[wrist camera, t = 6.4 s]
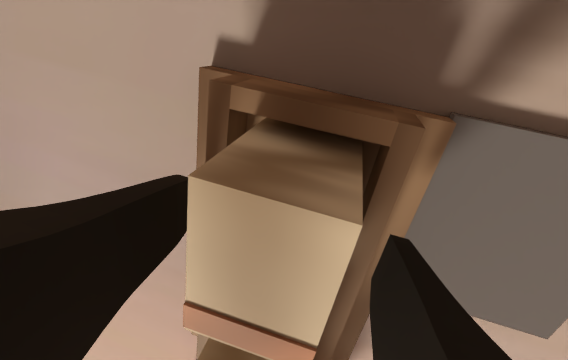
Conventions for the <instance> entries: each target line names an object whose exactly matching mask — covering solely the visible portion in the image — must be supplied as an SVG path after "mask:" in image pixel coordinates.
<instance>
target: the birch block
mask: <svg viewBox="0 0 568 360" xmlns="http://www.w3.org/2000/svg"><path fill="white" fill-rule="evenodd" d="M362 226H363V169H362V141H360V140H356V139H352V138H347V137H343V136H339V135H335V134H331V133H327V132H323V131H319V130H315V129H311V128H307V127H303V126H299V125H294V124H290V123H286V122H282V121H278V120H274V119H270V118H265V119H263V120H262V121H261V122H259V123H258V124H257V125H255V126H254V127H253V128H251V129H250V130H249V131H247V132H246V133H245V134H243V135H242V136H241V137H239V138H238V139H237V140H235V141H234V142H233V143H231V144H230V145H229V146H227V147H226V148H225V149H223V150H222V151H221V152H219V153H218V154H217V155H215V156H214V157H213V158H211V159H210V160H209V161H207V162H206V163H205V164H203V165H202V166H201V167H199V168H198V169H197V170H195V171H194V172H192V173H191V174H190V175H188V207H187V250H186V293H185V303H184V305H183V327H185V329H186V330H189V331H192V332H195V333H197V334H200V335H203V336H205V337H208V338H211V339H214V340H216V341H219V342H222V343H224V344H227V345H230V346H233V347H235V348H238V349H241V350H243V351H246V352H249V353H252V354H254V355H257V356H260V357H262V358H265V359H268V360H313V359H314V356H315V354H316V349H317V346H318V344H319V341H320V338H321V336H322V333H323V330H324V328H325V325H326V322H327V320H328V317H329V314H330V312H331V309H332V306H333V304H334V301H335V298H336V296H337V293H338V290H339V288H340V285H341V282H342V280H343V277H344V274H345V272H346V269H347V266H348V264H349V261H350V258H351V256H352V253H353V250H354V248H355V245H356V242H357V240H358V237H359V234H360V232H361V229H362Z"/></svg>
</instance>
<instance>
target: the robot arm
mask: <svg viewBox="0 0 568 360" xmlns="http://www.w3.org/2000/svg"><path fill="white" fill-rule="evenodd" d="M187 207H188V177H185V176H181V175H172V176H167V177H163V178H159V179H156V180H152V181H148V182H145V183H141V184H137V185H134V186H130V187H126V188H123V189H119V190H115V191H111V192H107V193H103V194H98V195H94V196H90V197H86V198H81V199H77V200H71V201H66V202H61V203H55V204H49V205H43V206H36V207H28V208H20V209H12V210H3V211H0V360H82V359H83V358H84V356H85V355H86V354H87V352H88V351H89V350H90V348H91V347H92V345H93V344H94V343H95V341H96V340H97V338H98V337H99V336H100V334H101V333H102V331H103V330H104V329H105V327H106V326H107V325H108V324H109V322H110V321H111V320H112V318H113V317H114V316H115V314H116V313H117V312H118V310H119V309H120V308H121V306H122V305H123V304H124V303H125V301H126V300H127V299H128V298H129V297H130V296H131V294H132V293H133V292H134V291H135V290H136V289H137V288H138V287H139V286H140V285H141V283H142V282H143V281H144V280H145V279H146V278H147V277H148V276H149V275H150V274H151V273H152V272H153V271H154V269H155V268H156V267H157V266H158V265H159V264H160V263H161V262H162V261H163V260H164V259H165V258H166V256H167V255H168V254H169V253H170V252H171V251H172V250H173V249H174V248H175V247H176V245H177V244H178V243H179V241H180V240H181V239H182V237H183V236H184V234H185V233H186V231H187ZM370 320H371V335H372V348H373V360H512V359H511V358H510V357H509V356H508V355H507V354H506V353H505V352H504V351H503V350H502V349H501V348H500V347H499V346H498V345H497V344H496V343H495V342H494V341H493V340H492V339H491V338H490V337H489V336H488V335H487V334H486V333H485V332H484V331H483V330H482V328H481V327H480V326H479V325H478V324H477V323H476V322H475V321H474V320H473V319H472V317H471V316H470V315H469V314H468V313H467V312H466V310H465V309H464V308H463V307H462V306H461V305H460V304H459V302H458V301H457V300H456V299H455V298H454V296H453V295H452V294H451V293H450V292H449V290H448V289H447V288H446V287H445V285H444V284H443V283H442V281H441V280H440V279H439V278H438V276H437V275H436V274H435V272H434V271H433V270H432V269H431V267H430V266H429V265H428V263H427V262H426V261H425V259H424V258H423V257H422V255H421V254H420V253H419V251H418V250H417V249H416V247H415V246H414V245H413V243H412V242H411V241H410V240H409V239H406V238H402V237H399V236H395V235H392V234H390V236H389V238H388V241H387V243H386V245H385V248H384V250H383V252H382V255H381V257H380V259H379V262H378V264H377V266H376V269H375V271H374V273H373V276H372V278H371V290H370Z"/></svg>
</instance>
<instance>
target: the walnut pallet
mask: <svg viewBox="0 0 568 360" xmlns="http://www.w3.org/2000/svg"><path fill="white" fill-rule="evenodd" d="M265 118H270V119H274V120H278V121H282V122H286V123H290V124H294V125H299V126H303V127H307V128H311V129H315V130H319V131H323V132H327V133H331V134H335V135H339V136H343V137H347V138H352V139H356V140H360V141H362V169H363V226H362V229H361V232H360V234H359V237H358V240H357V242H356V245H355V248H354V250H353V253H352V256H351V258H350V261H349V264H348V266H347V269H346V272H345V274H344V277H343V280H342V282H341V285H340V288H339V290H338V293H337V296H336V298H335V301H334V304H333V306H332V309H331V312H330V314H329V317H328V320H327V322H326V325H325V328H324V330H323V333H322V336H321V338H320V341H319V344H318V346H317V349H316V354H315V356H314V359H313V360H348V359H349V357H350V355H351V353H352V350H353V348H354V346H355V344H356V342H357V340H358V337H359V335H360V333H361V331H362V329H363V326H364V324H365V322H366V320H367V318H368V316H369V313H370V290H371V278H372V276H373V273H374V271H375V269H376V266H377V264H378V262H379V259H380V257H381V255H382V252H383V250H384V248H385V245H386V243H387V241H388V238H389V236H390V234H392V235H395V236H399V237H402V238H404V237H405V235H406V233H407V231H408V228H409V226H410V224H411V222H412V220H413V218H414V215H415V213H416V211H417V209H418V207H419V204H420V202H421V200H422V198H423V196H424V194H425V191H426V189H427V187H428V185H429V183H430V181H431V178H432V176H433V174H434V172H435V170H436V167H437V165H438V163H439V161H440V159H441V157H442V154H443V152H444V150H445V148H446V146H447V143H448V141H449V139H450V137H451V135H452V133H453V130H454V128H455V126H456V123H455V122H454V121H453V120H452V119H450V118H449V117H445V116H440V115H435V114H431V113H426V112H422V111H417V110H412V109H408V108H403V107H399V106H394V105H389V104H385V103H380V102H375V101H371V100H366V99H362V98H357V97H352V96H348V95H343V94H339V93H334V92H329V91H325V90H320V89H316V88H311V87H306V86H302V85H297V84H293V83H288V82H283V81H279V80H274V79H269V78H265V77H260V76H256V75H251V74H246V73H242V72H237V71H233V70H228V69H223V68H219V67H214V66H206V67H199V101H198V134H197V167H196V170H197V169H198V168H199V167H201V166H202V165H203V164H205V163H206V162H207V161H209V160H210V159H211V158H213V157H214V156H215V155H217V154H218V153H219V152H221V151H222V150H223V149H225V148H226V147H227V146H229V145H230V144H231V143H233V142H234V141H235V140H237V139H238V138H239V137H241V136H242V135H243V134H245V133H246V132H247V131H249V130H250V129H251V128H253V127H254V126H255V125H257V124H258V123H259V122H261V121H262V120H263V119H265ZM192 334H193V335H196V336H197V358H196V360H197V359H198V357H199V355H200V354H201V352H202V350H203V348H204V346H205V344H206V342H207V340H208V337H205V336H203V335H200V334H197V333H195V332H192Z"/></svg>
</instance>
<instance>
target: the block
mask: <svg viewBox="0 0 568 360" xmlns="http://www.w3.org/2000/svg"><path fill="white" fill-rule="evenodd" d="M197 360H268V359H265V358H262V357H260V356H257V355H254V354H252V353H249V352H246V351H243V350H241V349H238V348H235V347H233V346H230V345H227V344H224V343H222V342H219V341H216V340H214V339H211V338H208V340H207V342H206V344H205V346H204V348H203V350H202V352H201V354H200V355H199V357H198V359H197Z"/></svg>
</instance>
